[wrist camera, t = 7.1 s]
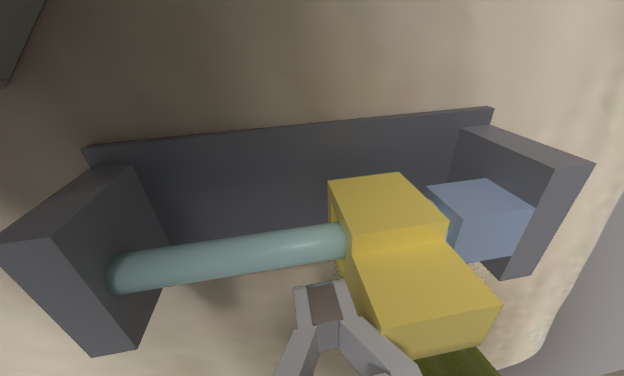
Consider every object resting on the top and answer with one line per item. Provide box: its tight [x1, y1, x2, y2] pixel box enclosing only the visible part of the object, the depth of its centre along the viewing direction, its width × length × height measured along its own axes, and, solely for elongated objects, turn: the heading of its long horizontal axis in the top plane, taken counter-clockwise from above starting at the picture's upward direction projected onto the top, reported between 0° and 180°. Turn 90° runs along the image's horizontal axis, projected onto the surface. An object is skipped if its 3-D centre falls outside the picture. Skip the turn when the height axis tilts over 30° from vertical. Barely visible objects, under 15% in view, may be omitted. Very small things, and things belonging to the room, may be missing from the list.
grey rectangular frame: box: [0, 106, 597, 358], centre depth 14 cm, size 23×9×6 cm, turn 93°
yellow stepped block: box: [327, 172, 504, 360], centre depth 11 cm, size 4×4×7 cm
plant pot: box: [412, 347, 501, 376], centre depth 24 cm, size 9×9×9 cm
